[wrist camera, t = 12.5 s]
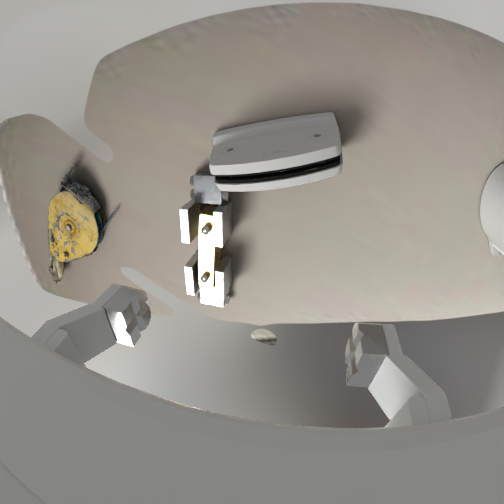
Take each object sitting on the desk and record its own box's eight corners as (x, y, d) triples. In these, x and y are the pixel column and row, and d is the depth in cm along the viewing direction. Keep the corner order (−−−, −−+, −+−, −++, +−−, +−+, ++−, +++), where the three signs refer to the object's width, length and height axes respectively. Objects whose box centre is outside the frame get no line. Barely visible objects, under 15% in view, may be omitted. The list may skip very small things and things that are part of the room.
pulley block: (25, 261, 48) (57, 169, 35) (38, 247, 52) (77, 159, 39) (65, 298, 53) (112, 223, 40) (76, 283, 58) (127, 208, 45)
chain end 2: (231, 255, 43) (223, 272, 39) (232, 300, 47) (224, 319, 43) (196, 251, 44) (184, 266, 39) (199, 295, 48) (189, 313, 44)
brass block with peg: (224, 207, 40) (214, 218, 35) (220, 275, 45) (211, 291, 41) (208, 204, 40) (197, 215, 36) (206, 272, 46) (196, 288, 42)
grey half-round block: (335, 111, 30) (351, 141, 23) (339, 143, 33) (354, 181, 27) (212, 132, 34) (191, 167, 28) (223, 160, 38) (206, 201, 31)
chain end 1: (232, 173, 37) (222, 181, 32) (231, 232, 41) (222, 247, 37) (192, 172, 38) (177, 180, 33) (194, 228, 42) (182, 242, 38)
